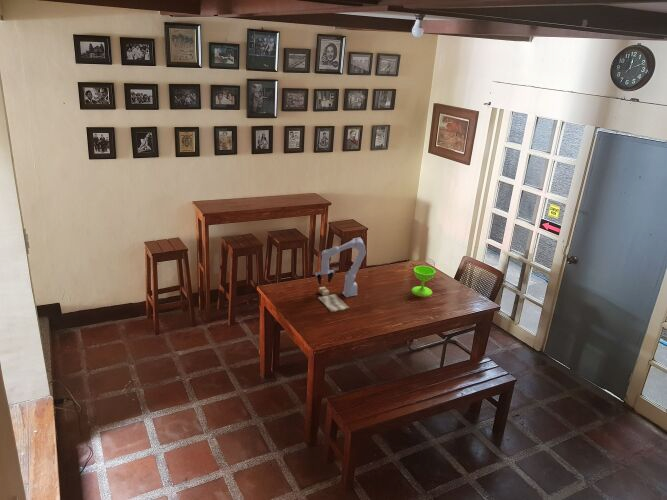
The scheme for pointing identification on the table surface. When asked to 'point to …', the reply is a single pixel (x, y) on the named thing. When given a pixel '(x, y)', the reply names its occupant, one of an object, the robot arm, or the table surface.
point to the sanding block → (323, 291)
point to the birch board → (333, 303)
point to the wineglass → (423, 280)
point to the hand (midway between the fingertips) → (324, 283)
